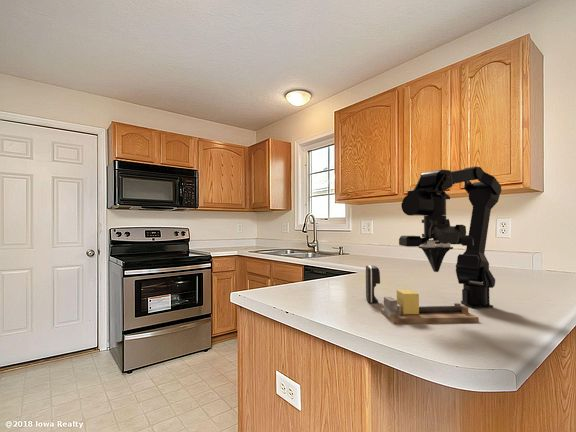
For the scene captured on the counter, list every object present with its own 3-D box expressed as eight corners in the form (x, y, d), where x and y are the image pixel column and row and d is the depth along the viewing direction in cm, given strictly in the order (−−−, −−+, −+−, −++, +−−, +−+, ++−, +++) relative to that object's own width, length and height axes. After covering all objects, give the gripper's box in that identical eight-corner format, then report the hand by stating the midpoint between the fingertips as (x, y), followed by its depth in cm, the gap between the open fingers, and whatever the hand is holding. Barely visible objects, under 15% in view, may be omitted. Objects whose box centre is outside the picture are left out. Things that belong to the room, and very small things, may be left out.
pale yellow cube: (411, 309, 88) (410, 289, 88) (419, 314, 83) (418, 293, 83) (396, 309, 87) (396, 290, 88) (404, 314, 83) (403, 293, 83)
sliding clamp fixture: (456, 311, 91) (455, 293, 91) (478, 321, 81) (478, 302, 81) (380, 312, 90) (380, 294, 90) (394, 323, 80) (393, 303, 80)
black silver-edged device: (381, 304, 99) (380, 267, 100) (368, 303, 100) (368, 267, 100) (377, 298, 106) (376, 264, 106) (365, 298, 107) (365, 264, 107)
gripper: (415, 215, 80) (416, 277, 79) (486, 214, 81) (488, 275, 81) (397, 216, 91) (398, 270, 91) (460, 215, 92) (461, 269, 92)
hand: (436, 271), depth 88 cm, fingers closed
